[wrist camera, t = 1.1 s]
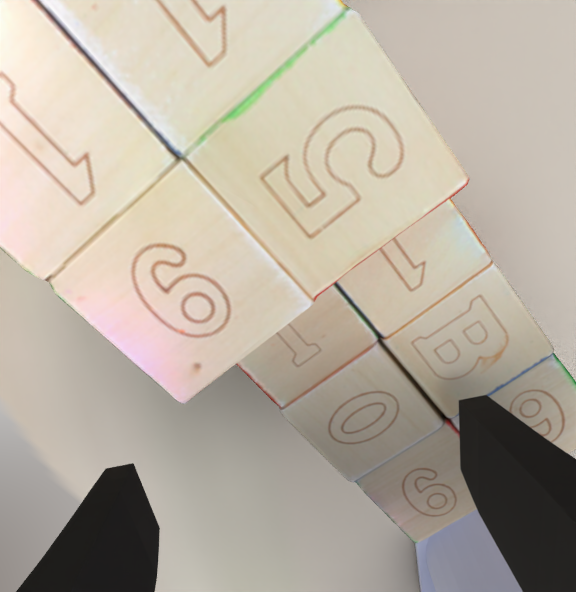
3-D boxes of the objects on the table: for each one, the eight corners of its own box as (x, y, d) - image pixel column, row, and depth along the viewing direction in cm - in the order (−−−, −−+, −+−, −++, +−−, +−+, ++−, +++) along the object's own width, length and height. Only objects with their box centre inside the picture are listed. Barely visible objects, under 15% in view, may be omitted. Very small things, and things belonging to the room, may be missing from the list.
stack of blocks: (477, 294, 22) (705, 530, 11) (357, 376, 23) (446, 663, 12) (99, -240, 15) (-421, -1232, 4) (-43, -77, 16) (-750, -415, 5)
